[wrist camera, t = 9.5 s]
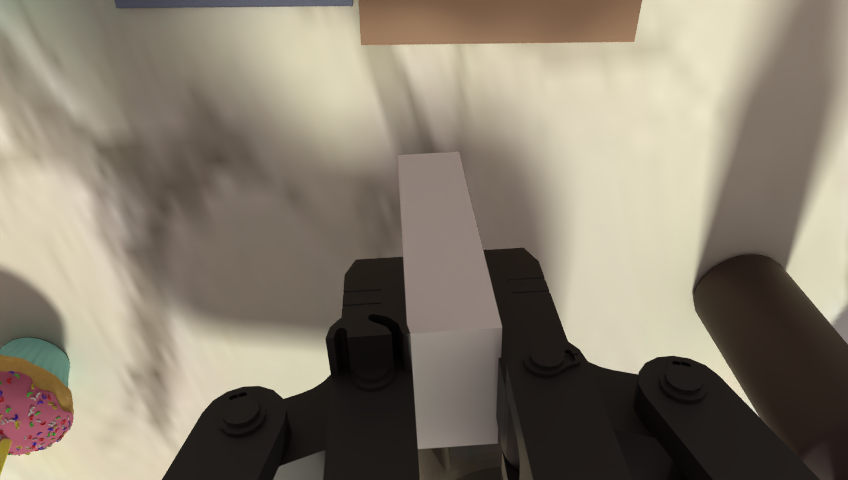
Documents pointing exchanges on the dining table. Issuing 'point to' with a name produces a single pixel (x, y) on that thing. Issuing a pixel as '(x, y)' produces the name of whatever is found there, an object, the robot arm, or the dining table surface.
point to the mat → (227, 3)
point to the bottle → (781, 357)
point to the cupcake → (33, 396)
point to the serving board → (497, 21)
